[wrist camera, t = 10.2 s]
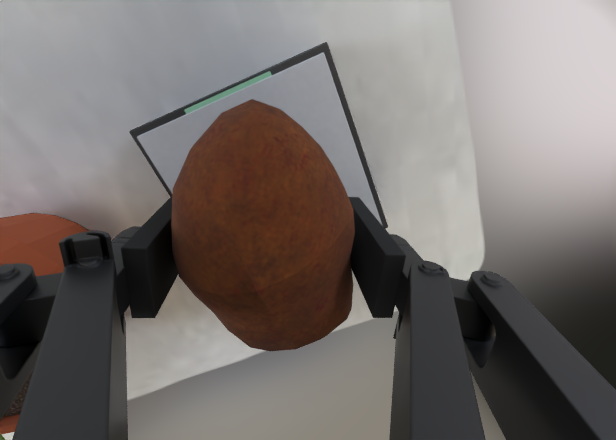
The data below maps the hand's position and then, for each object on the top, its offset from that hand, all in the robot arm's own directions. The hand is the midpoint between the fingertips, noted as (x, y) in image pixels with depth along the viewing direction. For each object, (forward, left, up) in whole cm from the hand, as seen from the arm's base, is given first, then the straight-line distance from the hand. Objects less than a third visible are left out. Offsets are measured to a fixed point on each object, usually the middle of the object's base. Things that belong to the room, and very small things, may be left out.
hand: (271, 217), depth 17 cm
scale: (0, 0, -9) cm, 9 cm away
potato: (0, 0, 0) cm, 0 cm away
